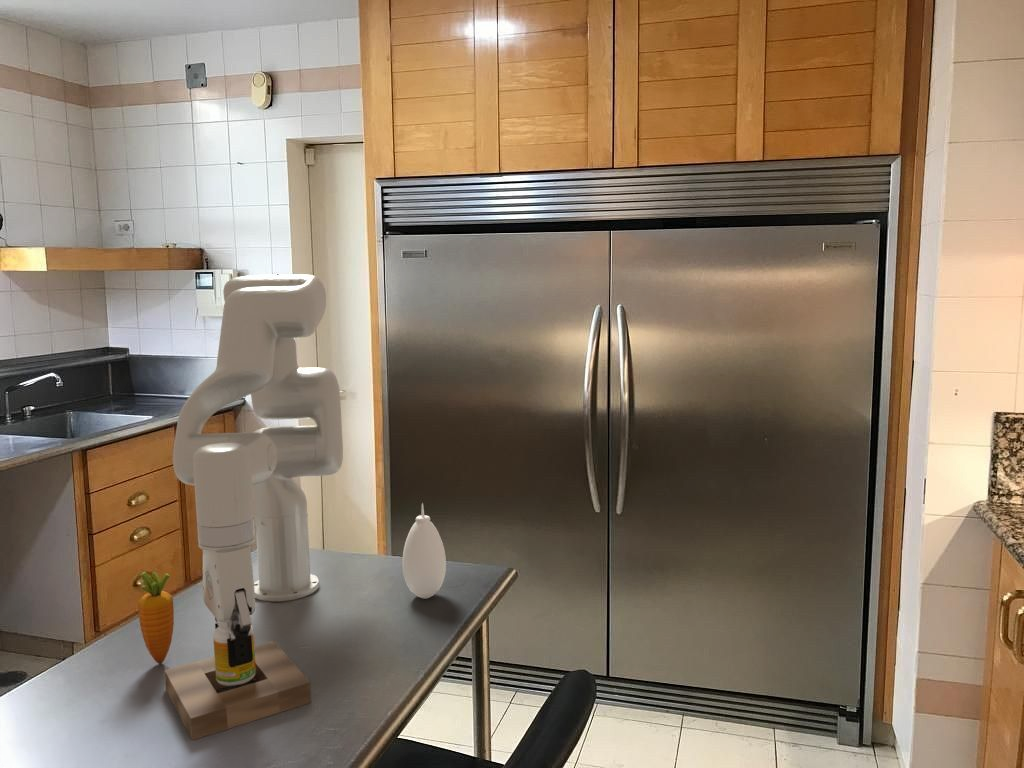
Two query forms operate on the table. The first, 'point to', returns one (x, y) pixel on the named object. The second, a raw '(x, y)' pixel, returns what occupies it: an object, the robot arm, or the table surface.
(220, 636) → the supplement bottle
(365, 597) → the table surface
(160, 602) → the carrot
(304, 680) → the bore block
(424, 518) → the white air blower bulb
